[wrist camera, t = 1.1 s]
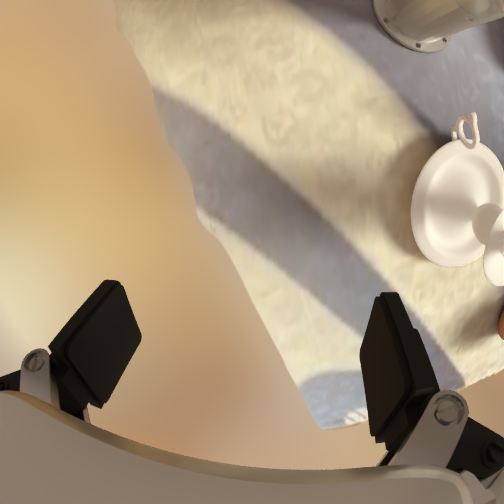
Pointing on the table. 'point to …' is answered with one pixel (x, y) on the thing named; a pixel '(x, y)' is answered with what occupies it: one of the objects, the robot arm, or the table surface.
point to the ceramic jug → (501, 325)
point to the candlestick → (461, 205)
